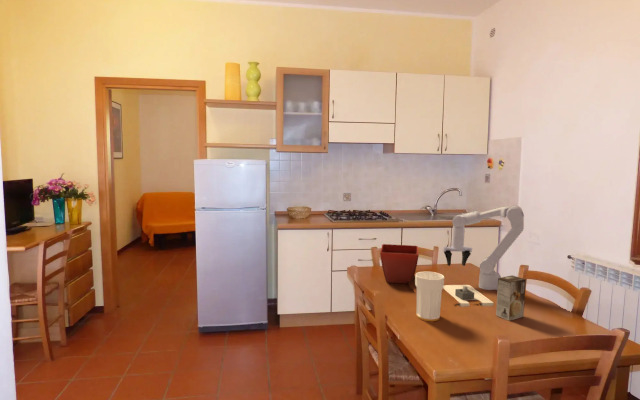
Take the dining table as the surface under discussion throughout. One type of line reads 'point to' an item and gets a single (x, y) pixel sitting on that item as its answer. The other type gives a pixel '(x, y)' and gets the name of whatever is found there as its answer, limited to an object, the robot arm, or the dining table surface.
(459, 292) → the grey square frame
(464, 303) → the shelf board
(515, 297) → the coffee box
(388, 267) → the plant pot
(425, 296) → the cup
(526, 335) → the dining table surface
